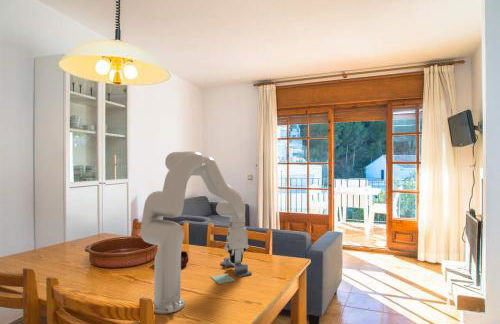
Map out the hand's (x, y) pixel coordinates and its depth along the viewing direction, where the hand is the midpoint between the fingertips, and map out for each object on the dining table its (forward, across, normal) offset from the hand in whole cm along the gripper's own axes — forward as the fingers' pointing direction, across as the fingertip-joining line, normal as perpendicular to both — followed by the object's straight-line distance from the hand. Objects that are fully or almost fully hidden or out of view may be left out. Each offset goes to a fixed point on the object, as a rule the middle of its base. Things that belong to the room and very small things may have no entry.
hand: (236, 261), depth 151 cm
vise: (+5, +1, +2) cm, 5 cm away
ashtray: (+5, -24, +25) cm, 35 cm away
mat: (+5, -10, -7) cm, 13 cm away
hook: (+1, 0, +2) cm, 2 cm away
